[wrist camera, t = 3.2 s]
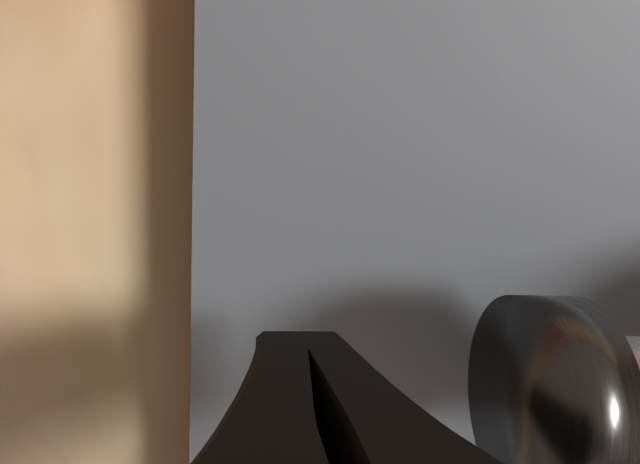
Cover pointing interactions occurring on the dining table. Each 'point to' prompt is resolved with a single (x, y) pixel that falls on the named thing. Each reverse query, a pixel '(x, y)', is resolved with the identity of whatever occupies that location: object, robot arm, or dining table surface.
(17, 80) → the dining table surface
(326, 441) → the robot arm
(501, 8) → the base board
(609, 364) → the shaft
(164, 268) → the dining table surface
